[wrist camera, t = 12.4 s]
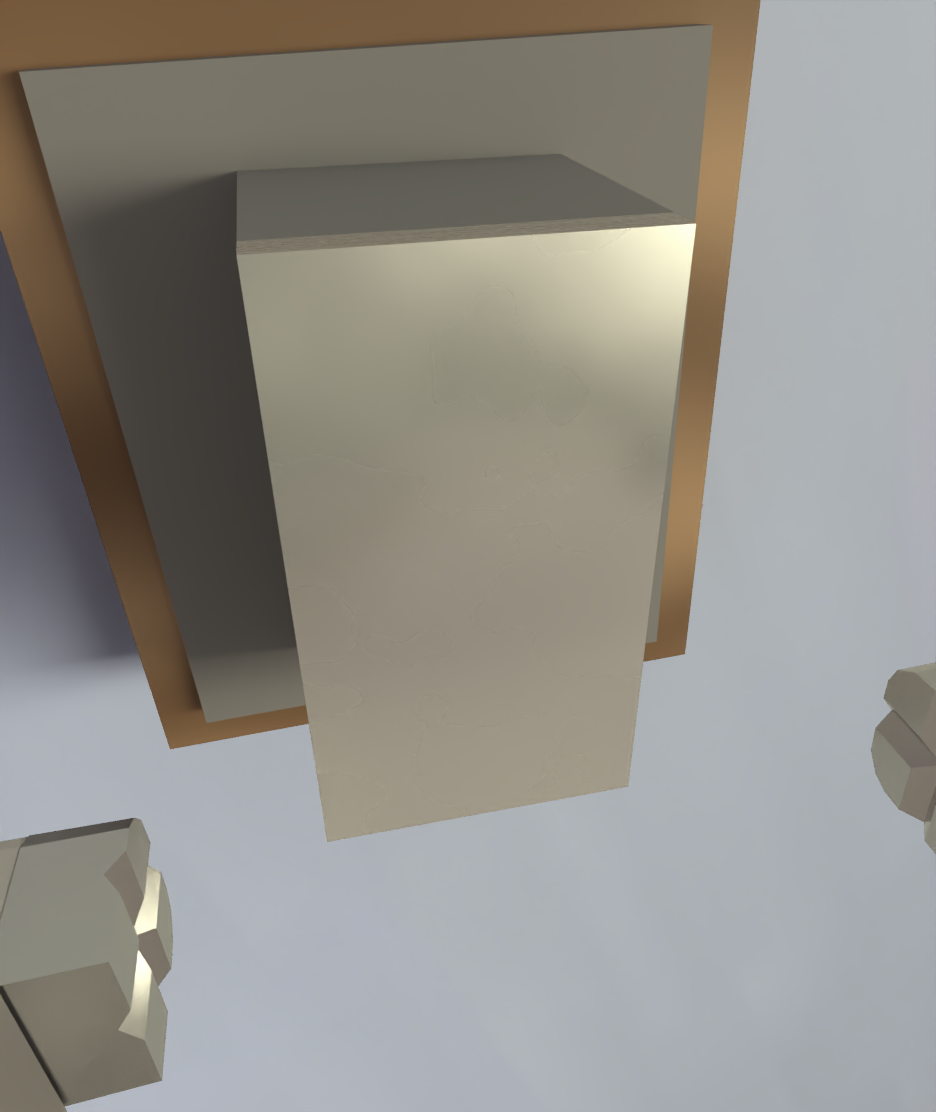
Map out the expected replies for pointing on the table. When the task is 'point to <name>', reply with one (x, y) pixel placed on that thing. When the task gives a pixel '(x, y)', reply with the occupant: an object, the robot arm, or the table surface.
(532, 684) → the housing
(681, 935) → the table surface
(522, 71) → the wooden tray
